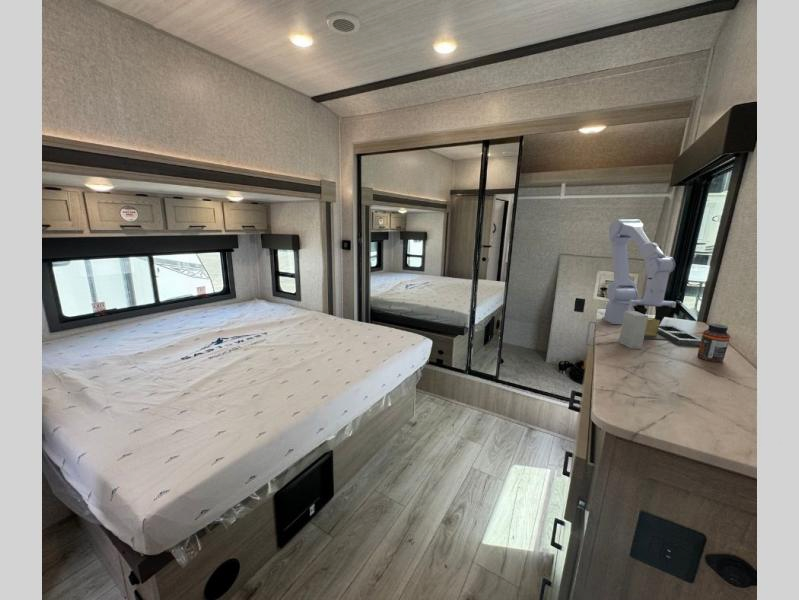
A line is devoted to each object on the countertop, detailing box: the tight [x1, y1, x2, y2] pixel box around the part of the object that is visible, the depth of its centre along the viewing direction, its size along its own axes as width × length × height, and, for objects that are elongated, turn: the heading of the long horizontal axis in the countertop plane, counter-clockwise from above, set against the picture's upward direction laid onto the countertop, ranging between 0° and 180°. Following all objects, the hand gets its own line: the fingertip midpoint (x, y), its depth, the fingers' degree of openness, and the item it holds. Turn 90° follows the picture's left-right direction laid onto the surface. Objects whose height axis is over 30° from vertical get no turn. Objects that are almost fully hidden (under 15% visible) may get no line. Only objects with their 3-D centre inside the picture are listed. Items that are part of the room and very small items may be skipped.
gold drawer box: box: [644, 316, 660, 337], centre depth 116 cm, size 4×4×7 cm
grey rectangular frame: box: [657, 324, 702, 347], centre depth 115 cm, size 17×8×2 cm, turn 170°
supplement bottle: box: [697, 323, 731, 363], centre depth 96 cm, size 6×6×11 cm
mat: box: [644, 334, 668, 341], centre depth 117 cm, size 9×9×1 cm
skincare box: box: [618, 310, 649, 350], centre depth 106 cm, size 6×4×12 cm
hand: (648, 324), depth 116 cm, fingers open, 5 cm apart
